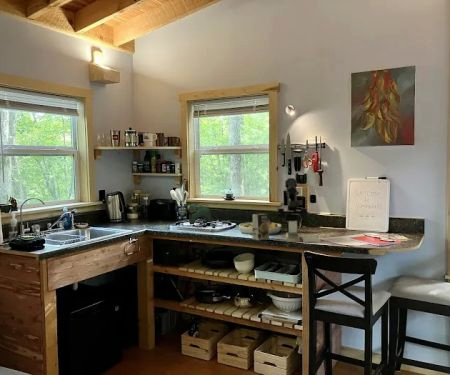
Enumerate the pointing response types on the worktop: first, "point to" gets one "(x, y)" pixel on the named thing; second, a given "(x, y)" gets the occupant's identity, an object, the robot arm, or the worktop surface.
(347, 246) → the worktop surface
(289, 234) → the plane body
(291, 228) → the lever cap
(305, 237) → the tray
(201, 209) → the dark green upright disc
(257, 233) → the coffee box
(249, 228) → the bowl
